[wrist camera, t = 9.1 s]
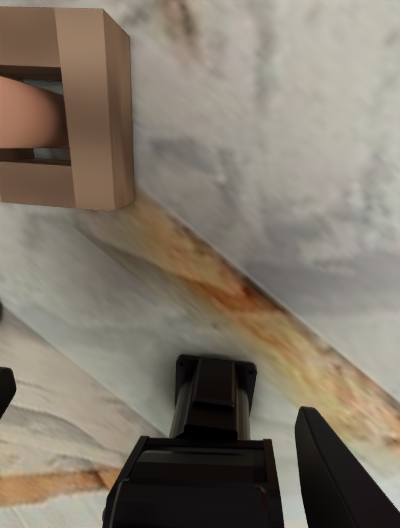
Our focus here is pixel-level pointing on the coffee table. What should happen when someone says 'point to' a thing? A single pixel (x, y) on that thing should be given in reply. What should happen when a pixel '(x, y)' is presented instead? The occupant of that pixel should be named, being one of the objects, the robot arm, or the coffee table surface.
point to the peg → (31, 116)
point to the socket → (72, 107)
